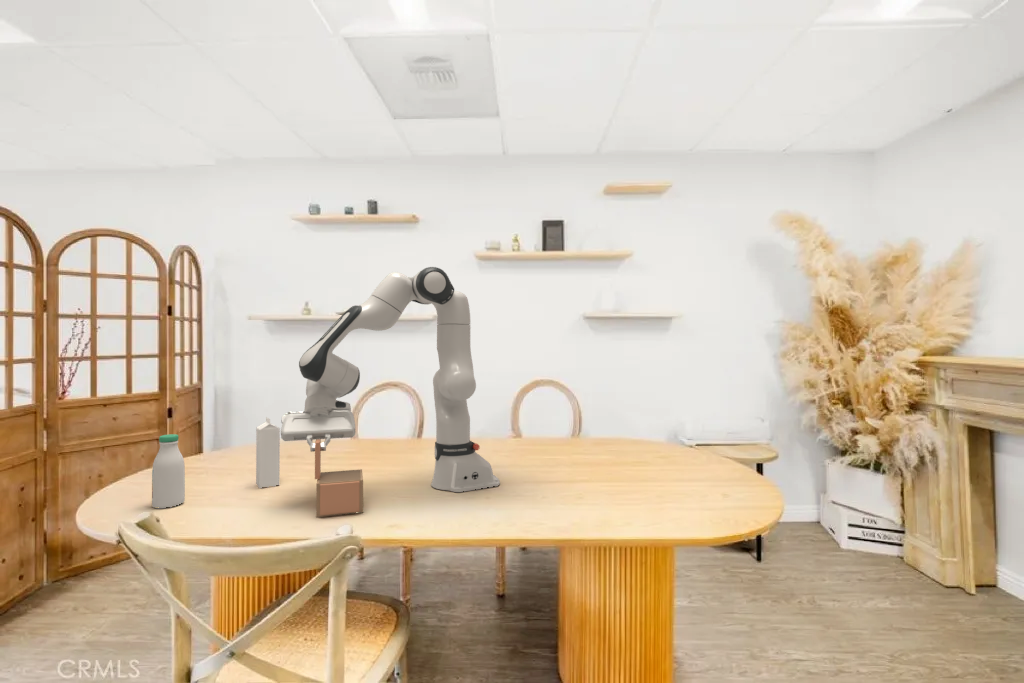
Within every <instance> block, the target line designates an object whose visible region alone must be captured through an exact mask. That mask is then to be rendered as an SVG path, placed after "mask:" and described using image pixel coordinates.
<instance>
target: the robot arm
mask: <svg viewBox="0 0 1024 683" xmlns="http://www.w3.org/2000/svg"><path fill="white" fill-rule="evenodd" d="M411 302H414V303H417V304H421V305H431V304H432V305H433V306H434V308H435V311H436V350H437V354H438V355H437V356H438V364H439V369H438V370H437V371H436V372H435V374H434V375H433V379H432V384H433V399H434V407H435V418H436V420H435V422H436V424H435V426H436V428H435V429H436V432H435V433H436V439H435V442H434V459H435V465H434V471H433V476H432V480H431V484H430V485H431V487H432V488H434V489H437V490H442V491H449V492H450V491H451V492H455V493H464V492H469V491H476V490H482V489H481V488H483V489H488V488H487V487H489V488H493V486H495V487H499V486H498V485H500V483H501V482H500V479H499V477H498V476H496V475H494V473H493V468H492V465H491V463H490V462H489V461H488V460H486V459H485V458H484V457H482V455H480V454H478V452H476V451H479V450H480V448H481V447H480V445H479V443H476V442H474V441H472V440H471V418H470V413H469V409H468V402H467V400H468V399H470V398H471V397H472V396H473V395H474V393H475V391H476V388H477V383H476V379H475V378H476V377H475V375H474V365H473V359H472V352H471V351H472V350H471V312H470V311H471V310H470V304H469V299H468V297H467V295H466V294H465V293H463V292H461V291H457V290H455V287H454V286H453V284H452V282H451V280H450V278H449V276H448V274H447V273H446V272H445V271H444V270H443V269H441V268H440V267H436V266H428V267H425V268H423V269H421V270H419V272H417V273H416V274H415V275H413V277H412V276H411V277H410V276H407V275H405V274H403V273H401V272H398V271H397V272H396V271H395V272H393V271H392V272H390V273H388V275H386V276H385V277H384V278H383V279H382V280H381V282H380V283H379V284H378V285H377V286H376V287H375V289H373V292H372V293H371V295H370V296H369V298H367V300H365V301H364V302H363V303H361V304H359V305H352V306H350V307H349V308H348V309H347V310H346V311H345V312H343V314H341V316H340V317H339V318H338V319H337V320H336V321H335V322H334V323H333V324H332V325H331V326H330V328H329V329H327V330H326V332H324V333H323V335H322V336H321V337H320V338H319V339H318V340H317V341H316V342H315V343H314V344H313V345H312V346H311V347H309V348H308V349H307V350H306V351H305V352H304V353H302V356H301V357H300V359H299V361H298V367H299V371H300V374H301V376H302V377H303V378H304V379H307V381H306V388H305V395H306V397H305V401H304V410H301V411H300V410H299V411H287V413H286V412H285V413H284V414H283V415H282V416H281V422H280V423H281V424H282V425H281V428H280V438H281V439H282V441H283V442H293V441H294V442H295V441H306V443H307V445H309V448H310V452H311V453H312V452H315V442H313V441H314V440H315V441H316V439H321V440H324V441H323V442H321V444H320V445H321V446H320V451H321V452H326V451H327V446H328V445H329V443H331V439H347V438H354V437H355V436H356V421H355V415H354V413H353V412H352V407H351V403H349V402H347V401H342V400H337V399H340V398H342V397H344V396H346V395H349V394H351V393H353V392H354V391H355V390H356V389H357V387H358V386H359V384H360V377H361V372H360V369H359V367H358V366H356V365H355V364H354V363H352V362H350V361H348V360H346V359H344V358H342V357H340V356H339V355H336V354H335V353H334V352H333V351H334V350H335V349H336V348H337V346H338V345H339V344H340V343H341V342H342V341H343V340H344V339H345V337H346V336H347V335H349V334H350V333H351V332H352V331H354V330H357V329H365V330H370V331H376V332H377V331H378V332H379V331H385V330H389V329H392V328H393V326H395V324H396V323H397V322H398V321H399V319H400V317H401V316H402V314H403V313H404V311H405V309H406V308H407V306H408V305H409V304H410V303H411ZM475 489H476V490H475ZM463 491H464V492H463Z"/></svg>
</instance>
